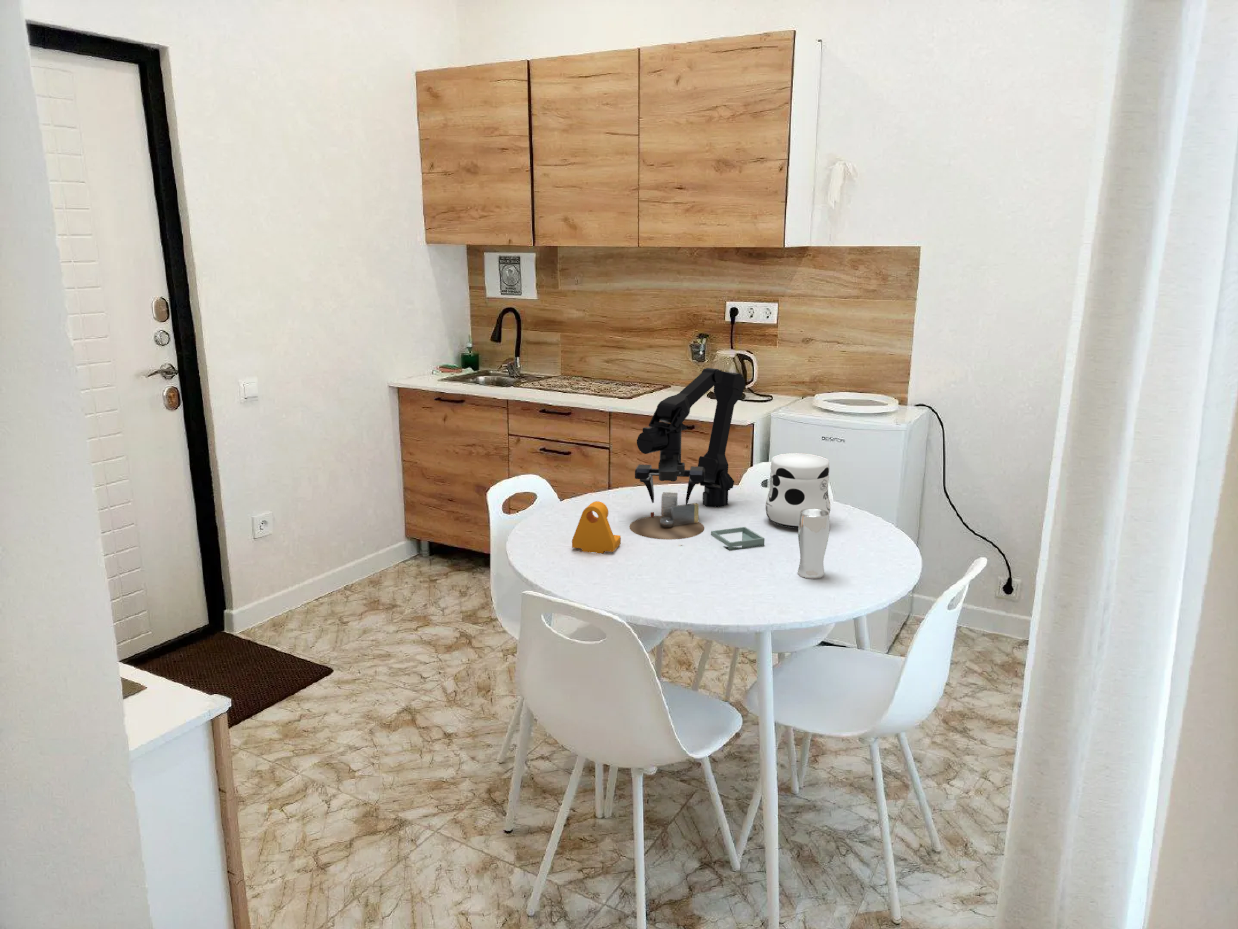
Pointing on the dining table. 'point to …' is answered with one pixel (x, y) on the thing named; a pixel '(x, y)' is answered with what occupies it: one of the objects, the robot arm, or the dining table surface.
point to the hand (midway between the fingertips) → (669, 503)
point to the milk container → (797, 487)
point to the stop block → (668, 503)
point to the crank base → (664, 529)
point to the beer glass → (812, 542)
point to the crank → (681, 515)
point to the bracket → (595, 531)
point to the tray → (748, 538)
